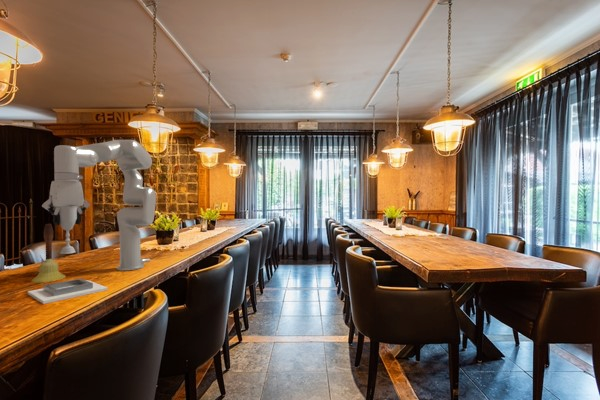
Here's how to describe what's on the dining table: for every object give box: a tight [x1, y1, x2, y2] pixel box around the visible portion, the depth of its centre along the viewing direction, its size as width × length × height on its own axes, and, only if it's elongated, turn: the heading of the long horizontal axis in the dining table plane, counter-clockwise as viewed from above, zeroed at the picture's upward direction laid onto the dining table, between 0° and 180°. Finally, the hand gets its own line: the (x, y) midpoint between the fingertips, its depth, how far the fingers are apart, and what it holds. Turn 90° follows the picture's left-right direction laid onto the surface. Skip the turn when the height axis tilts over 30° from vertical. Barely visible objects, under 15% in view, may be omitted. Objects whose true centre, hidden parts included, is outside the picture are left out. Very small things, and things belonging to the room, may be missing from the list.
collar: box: [42, 278, 93, 296], centre depth 120 cm, size 12×12×2 cm
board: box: [27, 279, 109, 305], centre depth 120 cm, size 20×20×1 cm
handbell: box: [30, 223, 67, 284], centre depth 141 cm, size 12×12×25 cm
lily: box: [34, 256, 45, 275], centre depth 154 cm, size 12×12×10 cm
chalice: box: [58, 206, 78, 255], centre depth 120 cm, size 7×7×18 cm
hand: (67, 224), depth 120 cm, fingers closed on chalice, 5 cm apart
